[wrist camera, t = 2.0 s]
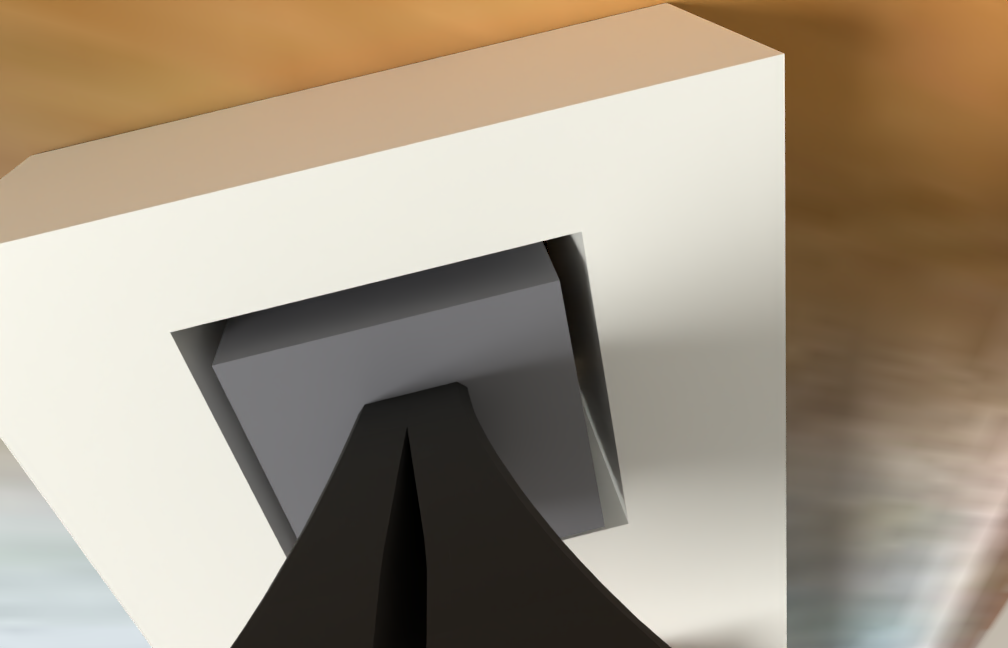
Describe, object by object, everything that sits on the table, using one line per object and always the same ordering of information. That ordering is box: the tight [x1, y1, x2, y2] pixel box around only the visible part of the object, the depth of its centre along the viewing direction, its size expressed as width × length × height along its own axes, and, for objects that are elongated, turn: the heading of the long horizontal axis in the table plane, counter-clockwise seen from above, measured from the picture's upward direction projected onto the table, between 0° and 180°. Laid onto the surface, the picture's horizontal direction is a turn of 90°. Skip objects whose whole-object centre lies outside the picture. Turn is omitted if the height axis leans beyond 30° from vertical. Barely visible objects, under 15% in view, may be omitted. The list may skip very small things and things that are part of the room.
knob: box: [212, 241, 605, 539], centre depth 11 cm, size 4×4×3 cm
